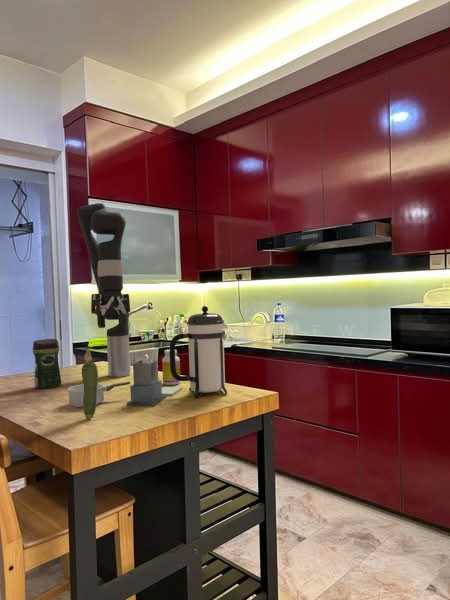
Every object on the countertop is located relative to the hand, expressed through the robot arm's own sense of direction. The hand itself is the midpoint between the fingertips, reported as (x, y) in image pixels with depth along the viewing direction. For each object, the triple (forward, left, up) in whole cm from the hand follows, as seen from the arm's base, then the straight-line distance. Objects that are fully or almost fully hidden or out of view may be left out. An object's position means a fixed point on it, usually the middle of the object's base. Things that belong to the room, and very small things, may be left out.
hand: (112, 327), depth 137 cm
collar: (-6, +8, -19) cm, 21 cm away
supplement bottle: (-33, +7, -25) cm, 42 cm away
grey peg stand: (-6, +8, -25) cm, 27 cm away
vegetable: (+13, -1, -25) cm, 28 cm away
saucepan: (-4, -7, -25) cm, 27 cm away
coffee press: (-18, +24, -25) cm, 39 cm away
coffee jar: (-25, -41, -25) cm, 54 cm away
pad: (-19, +9, -25) cm, 32 cm away
